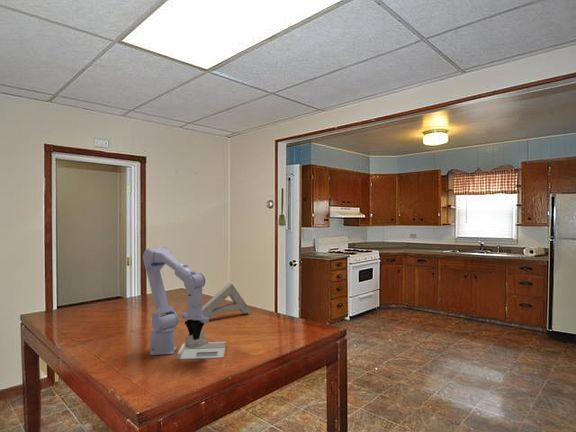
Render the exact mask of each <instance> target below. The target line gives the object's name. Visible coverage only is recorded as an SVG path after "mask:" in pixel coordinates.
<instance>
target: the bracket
mask: <svg viewBox="0 0 576 432" xmlns="http://www.w3.org/2000/svg"><path fill="white" fill-rule="evenodd" d="M208 342H209V340H206V339H205V330H203V329H202V330H201V333H200V337H199V339H197V340H194V336H193V333H192V334H189V333H188V334H186V335H185V343H186V347H187V348H190V349H194V348H197V347H200V346H203V345H205V344H208Z"/></svg>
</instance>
